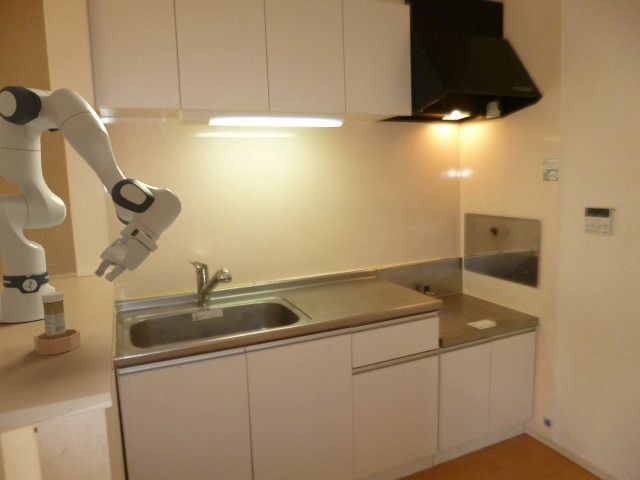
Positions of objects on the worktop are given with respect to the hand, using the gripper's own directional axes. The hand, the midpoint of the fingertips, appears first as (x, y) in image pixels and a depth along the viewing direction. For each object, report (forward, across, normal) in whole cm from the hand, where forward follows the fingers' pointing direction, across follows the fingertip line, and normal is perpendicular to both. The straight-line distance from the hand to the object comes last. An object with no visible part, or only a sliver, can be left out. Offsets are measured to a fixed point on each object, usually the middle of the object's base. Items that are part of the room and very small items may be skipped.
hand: (102, 277), depth 113 cm
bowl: (+19, 0, +4) cm, 20 cm away
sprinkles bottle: (+19, 0, +3) cm, 20 cm away
